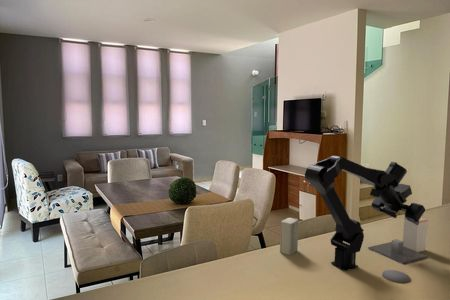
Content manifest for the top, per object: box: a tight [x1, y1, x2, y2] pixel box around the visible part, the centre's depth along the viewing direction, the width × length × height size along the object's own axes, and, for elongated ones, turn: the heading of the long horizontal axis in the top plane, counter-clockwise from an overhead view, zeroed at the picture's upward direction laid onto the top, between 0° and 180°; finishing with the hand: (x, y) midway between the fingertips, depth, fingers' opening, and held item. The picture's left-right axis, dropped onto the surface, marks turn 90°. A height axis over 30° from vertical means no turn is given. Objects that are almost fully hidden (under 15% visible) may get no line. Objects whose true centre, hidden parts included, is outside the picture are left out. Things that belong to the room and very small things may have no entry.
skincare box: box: [279, 217, 299, 256], centre depth 130 cm, size 6×4×12 cm
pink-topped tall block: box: [402, 216, 429, 253], centre depth 134 cm, size 6×6×12 cm
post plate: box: [367, 239, 428, 265], centre depth 130 cm, size 13×15×5 cm
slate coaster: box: [381, 269, 411, 284], centre depth 111 cm, size 8×8×1 cm
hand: (406, 220), depth 131 cm, fingers open, 9 cm apart
